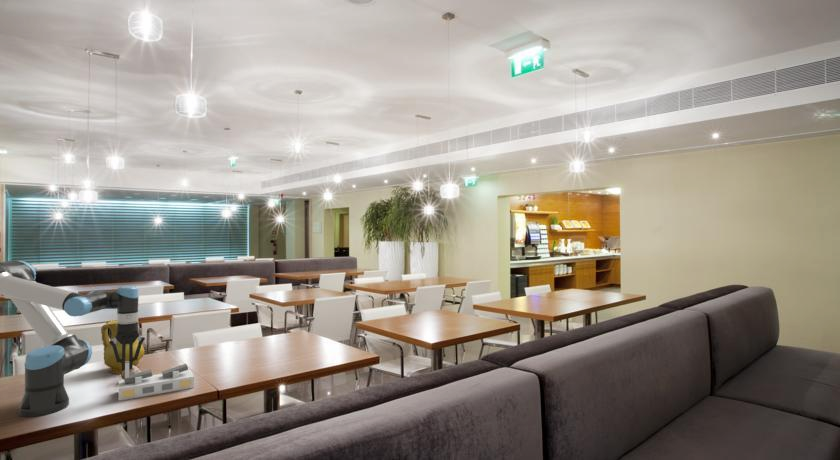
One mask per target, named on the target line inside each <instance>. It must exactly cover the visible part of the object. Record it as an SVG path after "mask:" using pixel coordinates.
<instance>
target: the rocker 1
mask: <svg viewBox="0 0 840 460" xmlns="http://www.w3.org/2000/svg"><path fill="white" fill-rule="evenodd" d="M152 373H153V372H152V369H148V370H143V371H142V372H139V373H135V374H131V375H129V378H125V376H124V381H125V383H128V382H132V381H135V377H141V376H142V379H144V378H147V377H151V376H152V375H153V374H152Z"/></svg>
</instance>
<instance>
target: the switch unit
mask: <svg viewBox="0 0 840 460" xmlns="http://www.w3.org/2000/svg"><path fill="white" fill-rule="evenodd" d="M174 367H175V366H173V367H171V368H174ZM192 371H193V370H191V369H189V368H188V370H186V371H183V372H180V373H179V371H173V375H171V376H168V377H166V378H163V375H162V373H158V374H152V376H151V377H147V378H144V379H142V376H141V377H135V381H132V382H128V383H125V381H124V380H123V379H119V380H118V401H125V400H132V399H137V398H142V397H149V396H155V395H160V394H164V393H172V392H176V391H183V390H187V389H189V390H190V389H194V388H195V375H194V373H193V372H192ZM138 373H139V372H138Z"/></svg>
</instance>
